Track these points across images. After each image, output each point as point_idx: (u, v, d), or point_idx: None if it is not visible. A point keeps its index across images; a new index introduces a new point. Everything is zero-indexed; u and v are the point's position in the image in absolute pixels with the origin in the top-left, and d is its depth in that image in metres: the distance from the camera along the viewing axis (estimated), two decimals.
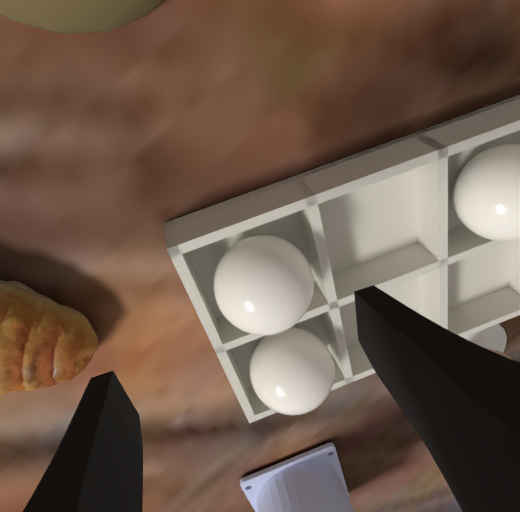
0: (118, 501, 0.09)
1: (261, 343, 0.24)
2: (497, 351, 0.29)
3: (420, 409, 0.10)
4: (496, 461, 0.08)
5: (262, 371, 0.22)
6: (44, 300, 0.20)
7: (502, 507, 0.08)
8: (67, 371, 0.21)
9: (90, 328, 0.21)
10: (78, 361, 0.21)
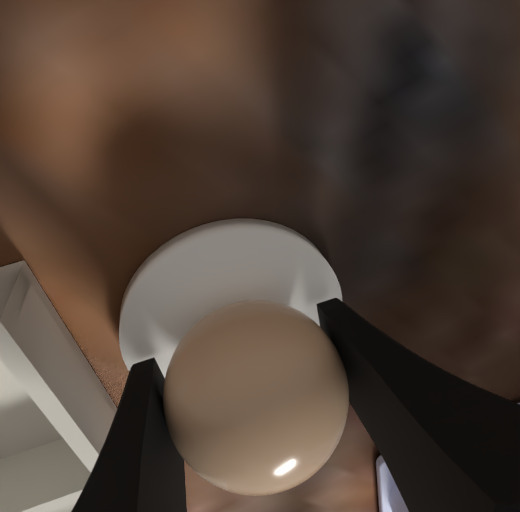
0: (167, 483, 0.10)
1: None
2: None
3: (377, 425, 0.10)
4: (438, 484, 0.07)
5: None
6: None
7: None
8: None
9: None
10: None
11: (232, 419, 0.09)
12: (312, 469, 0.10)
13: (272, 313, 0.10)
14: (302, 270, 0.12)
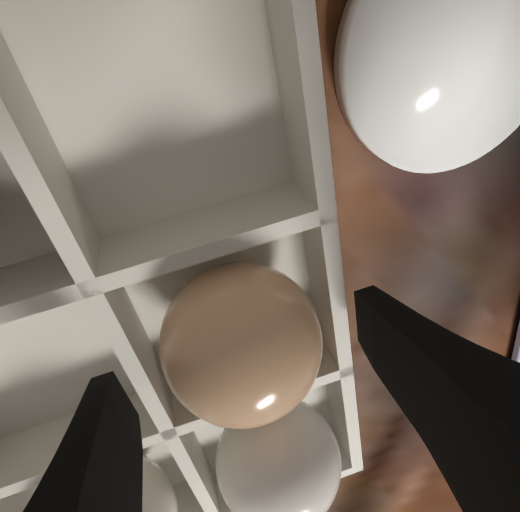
0: (117, 501, 0.09)
1: None
2: None
3: (420, 409, 0.10)
4: (496, 461, 0.08)
5: None
6: None
7: (502, 507, 0.08)
8: None
9: None
10: None
11: (217, 354, 0.10)
12: (288, 403, 0.11)
13: (255, 270, 0.12)
14: None
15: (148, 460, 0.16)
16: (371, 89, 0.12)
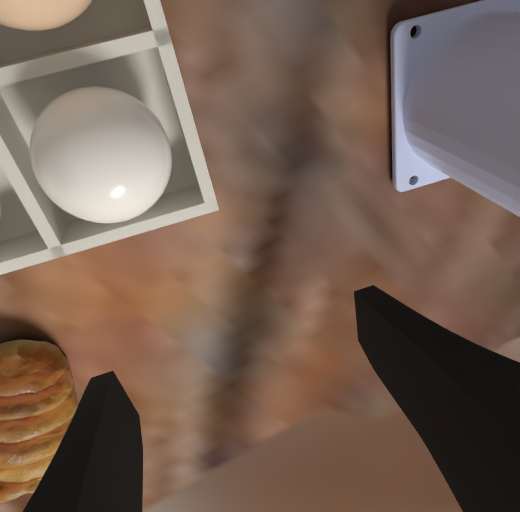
0: (118, 500, 0.09)
1: None
2: None
3: (420, 409, 0.10)
4: (496, 461, 0.08)
5: None
6: None
7: (502, 507, 0.08)
8: (33, 380, 0.21)
9: None
10: (20, 371, 0.20)
11: None
12: None
13: None
14: None
15: None
16: None
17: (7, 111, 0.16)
